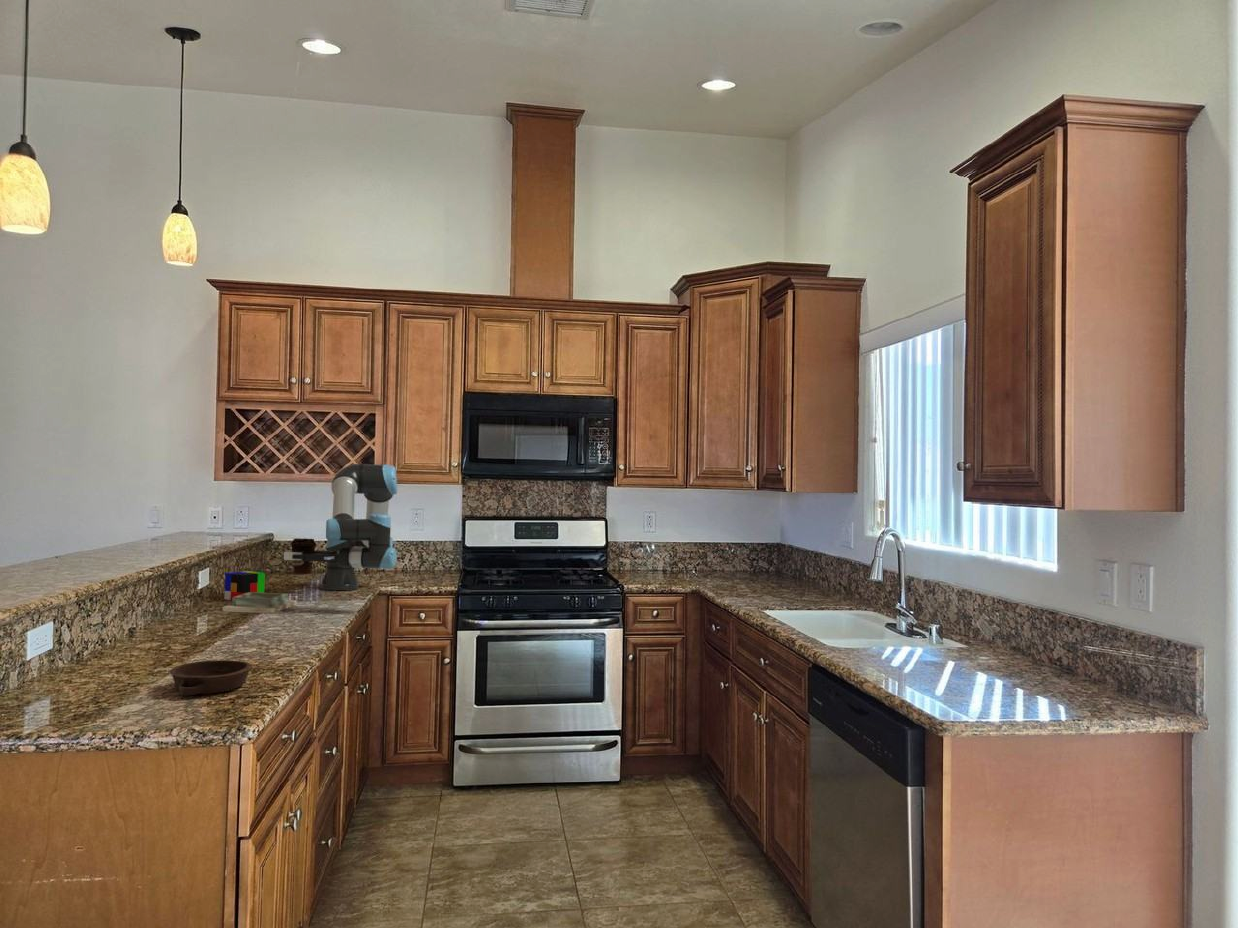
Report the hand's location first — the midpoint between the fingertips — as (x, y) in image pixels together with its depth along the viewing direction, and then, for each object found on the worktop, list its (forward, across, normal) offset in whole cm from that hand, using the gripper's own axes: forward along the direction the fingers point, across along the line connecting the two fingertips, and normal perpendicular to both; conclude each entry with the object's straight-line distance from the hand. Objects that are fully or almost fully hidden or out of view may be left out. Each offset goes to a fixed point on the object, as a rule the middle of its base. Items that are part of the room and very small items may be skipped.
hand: (289, 554), depth 317 cm
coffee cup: (-5, 0, -7) cm, 9 cm away
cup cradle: (+11, +2, -20) cm, 22 cm away
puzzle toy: (+25, +21, -20) cm, 38 cm away
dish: (-27, -110, -20) cm, 115 cm away
